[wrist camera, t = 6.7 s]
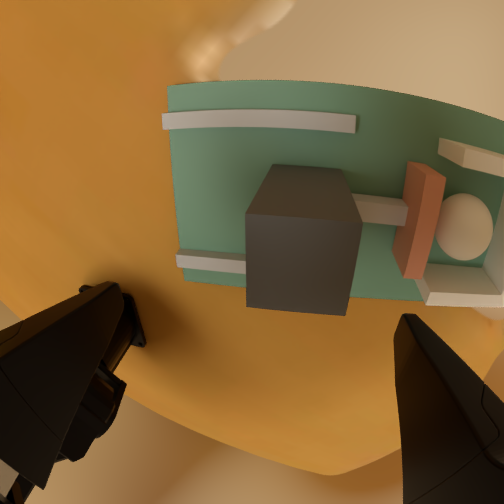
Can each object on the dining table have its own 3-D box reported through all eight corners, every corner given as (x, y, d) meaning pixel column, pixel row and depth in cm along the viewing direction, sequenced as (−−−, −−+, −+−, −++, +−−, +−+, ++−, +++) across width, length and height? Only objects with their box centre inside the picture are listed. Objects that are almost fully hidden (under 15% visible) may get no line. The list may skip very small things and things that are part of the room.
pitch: (477, 297, 20) (497, 331, 16) (188, 274, 23) (166, 309, 20) (521, 128, 13) (558, 141, 9) (172, 86, 17) (138, 85, 13)
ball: (427, 263, 15) (427, 236, 18) (486, 279, 13) (477, 250, 16) (443, 195, 13) (438, 179, 16) (507, 214, 11) (492, 195, 14)
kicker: (408, 252, 18) (446, 336, 11) (270, 240, 20) (246, 325, 13) (425, 163, 15) (492, 213, 8) (272, 147, 17) (244, 185, 10)
